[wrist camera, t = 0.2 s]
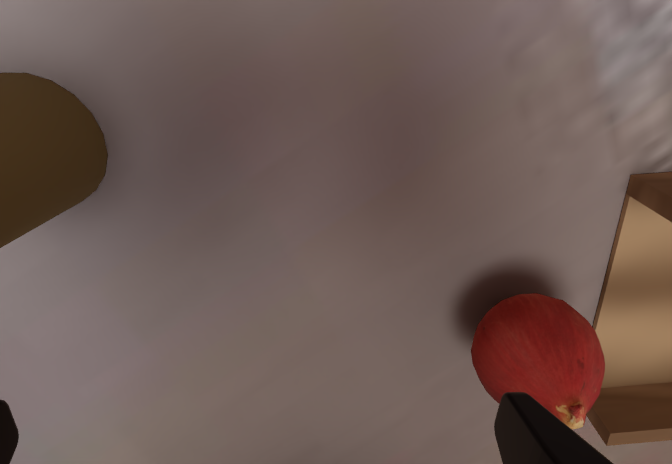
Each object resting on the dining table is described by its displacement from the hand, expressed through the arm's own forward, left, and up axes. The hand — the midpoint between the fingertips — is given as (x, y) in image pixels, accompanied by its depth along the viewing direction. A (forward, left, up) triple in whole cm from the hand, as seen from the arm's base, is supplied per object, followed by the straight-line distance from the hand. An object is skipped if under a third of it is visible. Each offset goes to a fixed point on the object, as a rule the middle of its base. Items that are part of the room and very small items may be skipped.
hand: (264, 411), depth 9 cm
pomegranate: (-9, -11, -14) cm, 20 cm away
